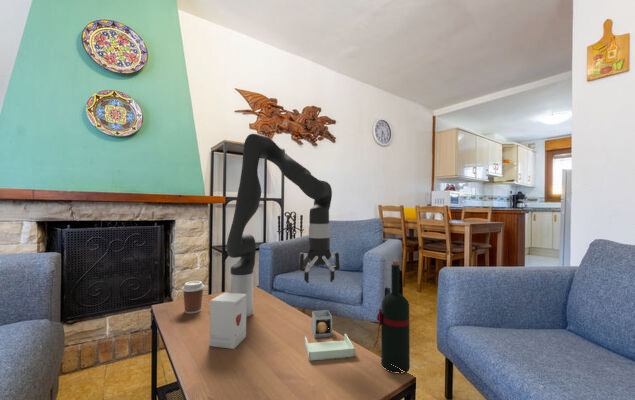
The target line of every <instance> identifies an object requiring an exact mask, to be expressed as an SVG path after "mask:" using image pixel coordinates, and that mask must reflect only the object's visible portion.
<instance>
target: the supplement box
mask: <svg viewBox="0 0 635 400" xmlns="http://www.w3.org/2000/svg"><path fill="white" fill-rule="evenodd" d="M246 299H247V294H238V293H230V292H223V293H221V294H218V295H217V296H216V297H214V298H212V299H210V308H209V311H210V312H209V344H208V345H209V347H215V348H222V349H223V348H224V349H231V350H234V349H235V348H237V346H238V345H239V344H241V342H242V341H244V339H246V337H247V317H246Z"/></svg>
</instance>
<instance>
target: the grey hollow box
mask: <svg viewBox="0 0 635 400" xmlns="http://www.w3.org/2000/svg"><path fill="white" fill-rule="evenodd" d="M319 322H324V323H326V325H327V329H328V328H329V329H328V330H327V332H325V333H317V330H316V326H317V324H318V323H319ZM311 332H312V334H313V337H314V339H319V338H321V337H322V338H329V337H328V336H332V337H333V315H332V314H331V312H330V310H329V309H324V310H311Z"/></svg>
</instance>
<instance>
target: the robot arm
mask: <svg viewBox="0 0 635 400" xmlns="http://www.w3.org/2000/svg"><path fill="white" fill-rule="evenodd" d="M242 149H243V150H242V166H241V171H240V177H239V178H240V179H239V186H238V190H237V195H236V200H235V201H236V202H235V209H234V213H233V218H232V223H231V226H230V230H229V233H228V237H227V242H226V254H227V255H228V256H229V258H231V259H232V258H233V259H234V258H240V259H239V260H238V261H237V262H236V263H235V264H233V265H231V267H230V292H229V293H238V294H247V299H246V318H247V317H249V316H251V315H253V313H254V309H253V308H254V267H255V266H256V265H255V264H256V250H257V248H256V246H257V245H256V239H255V237H254V236H253V235H252V234H249V233H245V234H243V233H244V232H245V228H246V226H247V225H248V223H249V221H251V219H252V218H253V217H254V216H255V214H256V213H257V210H258V209H259V206H260V203H261V198H262V187H261V182H260V179H259V175H258V173H259V172H258V169H259V162H260V159H263V160H267V161H269V162H271V163H273V164H274V165H275V166H277V168H278V169H279V171H280V172H281V173H282V174H283V176H284V177H286V179H288V180H289V181H290V182H292V183H293V184H294V185H296V186H297V187H299V190H301V191H302V192H303V193H304V194H305V195H306V196H307V197H308V198H310V199H312V200H313V206H312V207H310V209H309V218H308V219H309V220H308V221H309V226H308V252H307V253H305V252H300V253H299V261H298V270H299V271H301V272H303V280H304V282H306V284H309V283H310V281H309V280H310V279H309V274H310V273H309V271H310V269H311V268H312V267H313V266H324V265H327V267H328V269H329V282H330V283H333V281H334V280H335V271H337V270H340V267H341V266H340V254H339V252H337V251H334V252H331V249H330V248H331V239H330V238H331V232H330V231H331V229H330V209H331V203H332V197H333V191H332V189H333V188H332V186H331V184H330V183H329V182H328V181H325V180H321V179H318V178H317V177H315V176H314V175H312V173H311V172H310V170H308V169H307V168H306V167H304V166H303V165H302V164H300V163H299V162H298V161H296V160H295V159H293V158H292V157H291V156H290V155H288V154H287V153H286V152H284V150H282V148H281V147H279V145H277V143H276V142H275V141H273V139H272V138H270V137H269V136H267V135H264V134H259V133H253V132H252V133H249V134H248V135H247V136H246V138H245V140H244V144H243V148H242ZM331 257H332V259H334V265H332V263H331V262H330V261H329V260H330V259H331ZM307 258H308V260H309V261H308V262H307V264H306V265H305V266H304V260H306V259H307Z"/></svg>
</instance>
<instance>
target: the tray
mask: <svg viewBox="0 0 635 400" xmlns="http://www.w3.org/2000/svg"><path fill="white" fill-rule="evenodd" d="M343 337H344V340H333V341H331V340H330V341H321V342H319V341H318V342H309V341H308V338H307V336H304V346H305V350H306V355H307V358H308V361H309V362H312V361H323V360H324V361H325V360H336V359H347V358H346V357H348V358H355V357H354V356H356V350H355V346H354V345H353V343H352V341H351V340H350V339H349V337H348V334H347V333H344V335H343ZM335 358H336V359H335Z"/></svg>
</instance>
